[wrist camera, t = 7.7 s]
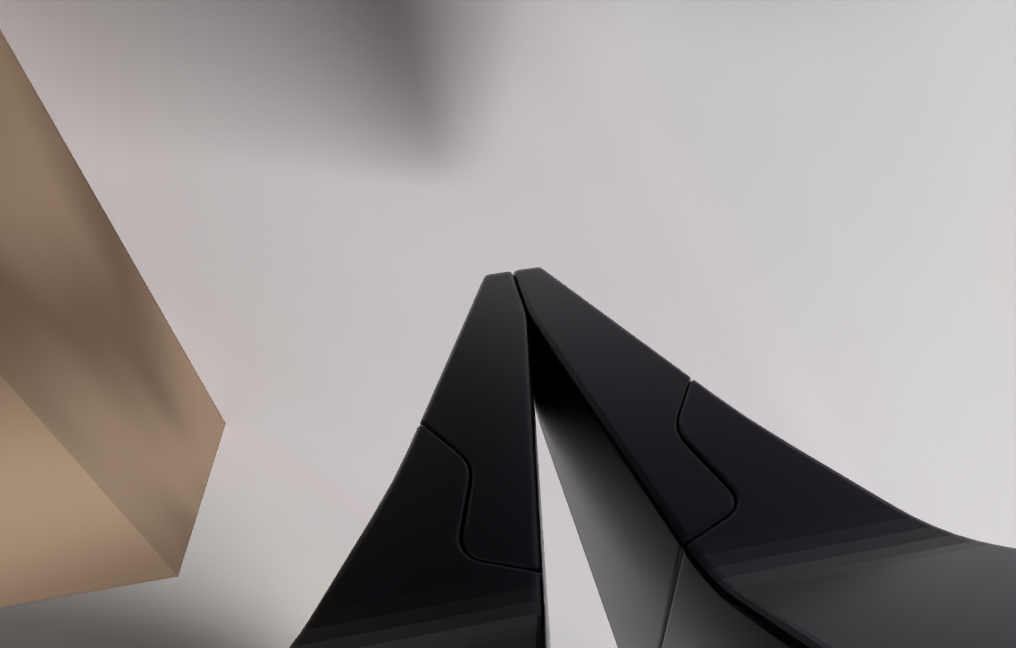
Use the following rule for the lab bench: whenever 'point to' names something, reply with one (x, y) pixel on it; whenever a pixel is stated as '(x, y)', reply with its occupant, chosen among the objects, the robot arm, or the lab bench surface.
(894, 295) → the lab bench surface
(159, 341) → the door panel
